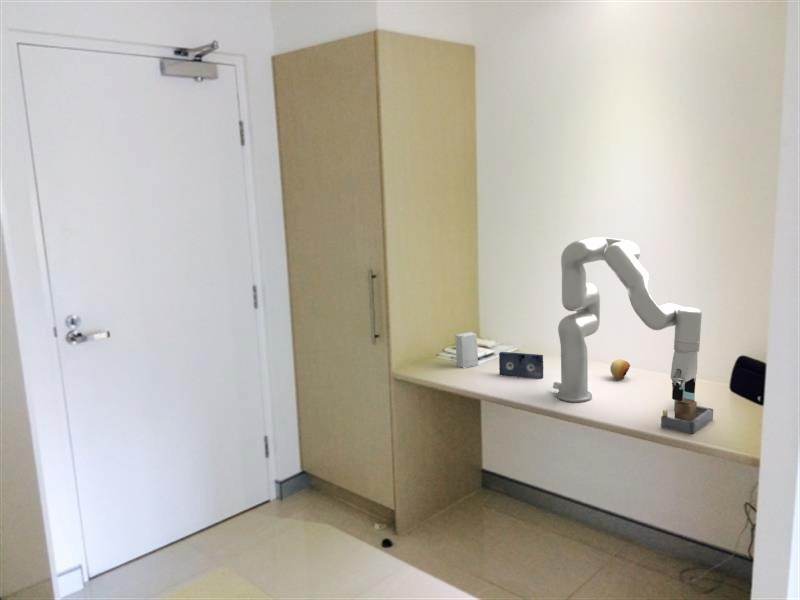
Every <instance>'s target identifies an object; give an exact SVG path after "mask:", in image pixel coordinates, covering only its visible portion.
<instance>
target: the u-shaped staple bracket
mask: <svg viewBox="0 0 800 600" xmlns="http://www.w3.org/2000/svg"><path fill="white" fill-rule="evenodd" d="M660 418H661V420H660V428H661V427H662V428H666V429H669V430H675V431H678V432H683V433H687V434H692V435H694V434H695V433H696V432H698V431H700V429H702V428H704V426H705V425H707V424H709V423H710V422H711V421H712V420H713V419H714V408H709V407H705V406H701V405H697V411H696V418H695V419H694V420H692V421H686V420H682V419H677V418H675V417H672V416H668V410H667V409H663V410H662V415H661V417H660Z"/></svg>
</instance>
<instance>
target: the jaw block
mask: <svg viewBox="0 0 800 600" xmlns="http://www.w3.org/2000/svg"><path fill="white" fill-rule="evenodd" d="M697 402H698V401H695V400H692V399H687V398H683V400H682V401H677V402H675V411H674V418H677V419H682V420H686V421H692V420H694V419H695V418H697V417H696V411H697V406H698V403H697Z"/></svg>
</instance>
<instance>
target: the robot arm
mask: <svg viewBox="0 0 800 600" xmlns="http://www.w3.org/2000/svg"><path fill="white" fill-rule="evenodd" d="M640 252H641V251H640V248H639V246H638V245H637V244H636V243H635V242H633V241H631V240H627V239H621V238H620V239H619V238H613V237H611V238H610V237H605V236H596V237H595V236H594V237H589V238H583V239H578V240H575V241H573V242H570V243H569V244H568V245H567V246H566V247H565V248H564V249H563V251H562V253H561V256H560V257H561V258H560V265H561V266H560V267H561V302H562V303H561V304H562V306H563V307H564V309H565V310H566V311H568V312H574V313H571V314H568V315H566V316H564V317H563V318H562V319H561V320H559V321H560V322H559V324H558V326H557V332H558V337H559V344H560V371H561V372H560V374H561V375H560V377H561V379H560V381H561V382H558V381H554V382H553V386H552V388H553V389H556V390H558V392H557V393H556V397H557V398H558V399H559V400H561V401H565V402H570V403H571V402H572V403H581V402H587V401H590V400H591V399H592V398H593V395H592V393H591V392H590V391H589V390H588V387H589V386H588V380H589V379H588V377H589V376H588V374H589V373H588V367H589V366H588V347H587V344H586V341H585V338H586V337H589V336H592V335H594V334H595V333H596V332H597V331H598V330H599V328H600V327H599V326H600V318H601V315H600V314H601V310H600V309H601V298H600V297H601V296H600V292H599V290H598V288H597V286H596V285H595V284H593V283H591V282H589V281H587V271H586V269H585V266H584V264H588V263H593V262H597V261H605V263H606V264H607V265H608V267H609V268H610V270H611V271H612V272H613V273H614V274H615V276H616V277H617V278H618V280H619V281H620V282H621V284H623V286H624V287H625V289H626V291H627V295H628V298H629V302H630V305H631V307H632V309H633V311H634V312H635V314H636V315H637V317H639V319H640V320H641V321H642V323H643V324H644V325H645V326H646V327H647V328H649V329H650V330H653V331H660V330H664V329H666V328H669V327H674V339H673V341H674V342H673V350H674V352H673V357H672V363H671V370H670V371H671V372H670V380H671V381H672V382H671V384H672V386H671V388H672V391H671V393H672V394H671V399H672V400H677V401H682V400H683V389H682V387H683V384H684V383H685V389H684V391H685V392H689V393H695V391H696V381H697V372H698V353H699V352H700V342H701V332H702V331H701V330H702V311H701V309H699V308H697V307H690V306H682V305H679V304H675V303H671V302H667V303H663V304H660V305H659V304H657V303H656V302H655V300H654V299H653V298H652V295H650V292H649V289H648V282H649V279H650V273H649V272H648V271H647V270H646V269H645V268H644V266H643V264H641V263H640V262H639V258H640V255H641V253H640ZM695 376H696V377H695ZM680 382H681V384H679V383H680ZM695 394H696V393H695Z"/></svg>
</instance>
